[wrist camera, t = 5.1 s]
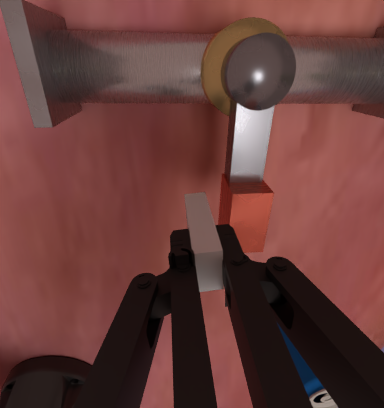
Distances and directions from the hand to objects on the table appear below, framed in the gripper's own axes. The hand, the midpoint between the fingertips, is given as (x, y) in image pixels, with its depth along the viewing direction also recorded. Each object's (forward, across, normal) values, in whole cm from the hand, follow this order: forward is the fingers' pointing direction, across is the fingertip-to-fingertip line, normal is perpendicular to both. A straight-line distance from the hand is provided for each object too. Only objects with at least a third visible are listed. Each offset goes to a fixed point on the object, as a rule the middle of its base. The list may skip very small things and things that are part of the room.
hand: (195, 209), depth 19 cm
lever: (+2, +4, +4) cm, 6 cm away
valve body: (+10, +4, +9) cm, 14 cm away
